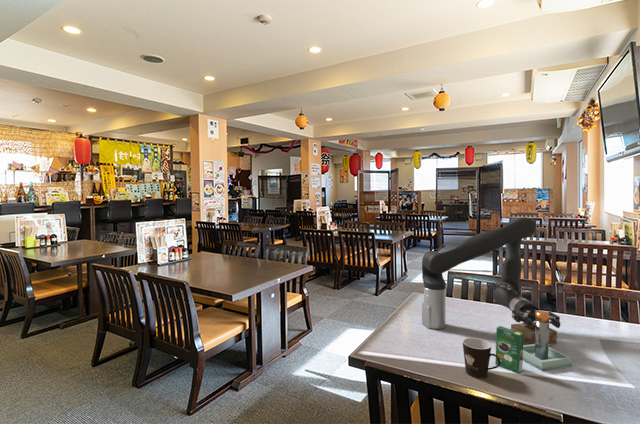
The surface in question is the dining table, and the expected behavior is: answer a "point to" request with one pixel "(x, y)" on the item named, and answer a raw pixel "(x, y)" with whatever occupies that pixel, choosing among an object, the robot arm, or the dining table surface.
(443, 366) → the dining table surface
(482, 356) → the coffee mug
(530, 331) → the block
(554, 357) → the tray
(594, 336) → the dining table surface
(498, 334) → the coffee box
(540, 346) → the pin
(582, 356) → the dining table surface
